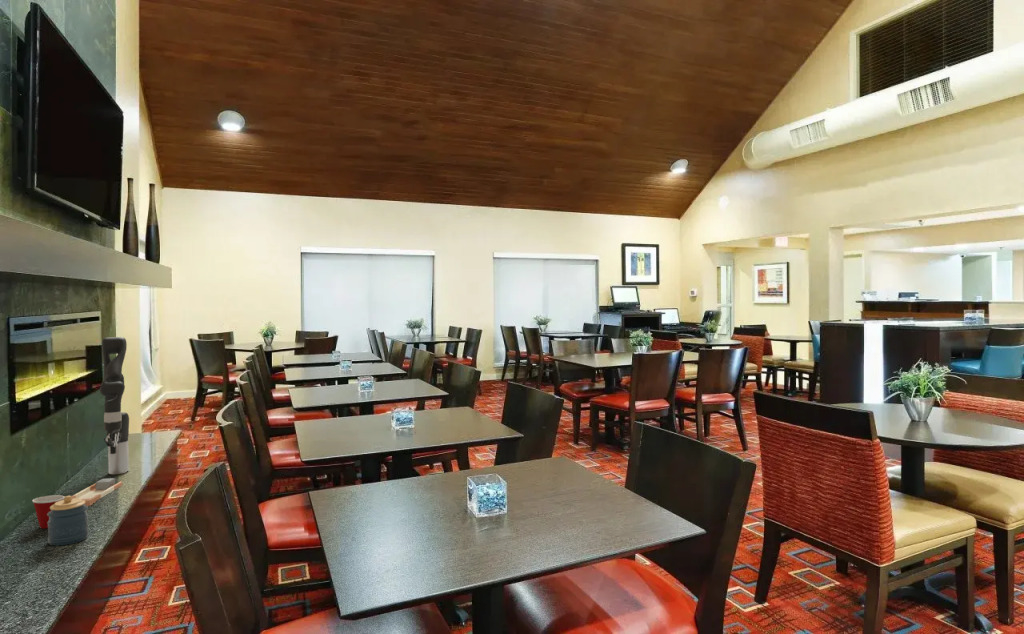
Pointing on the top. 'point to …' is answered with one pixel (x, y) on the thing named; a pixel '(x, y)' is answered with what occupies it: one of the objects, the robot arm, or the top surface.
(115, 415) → the robot arm
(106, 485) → the slate block
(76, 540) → the canister
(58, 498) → the plastic cup
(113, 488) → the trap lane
